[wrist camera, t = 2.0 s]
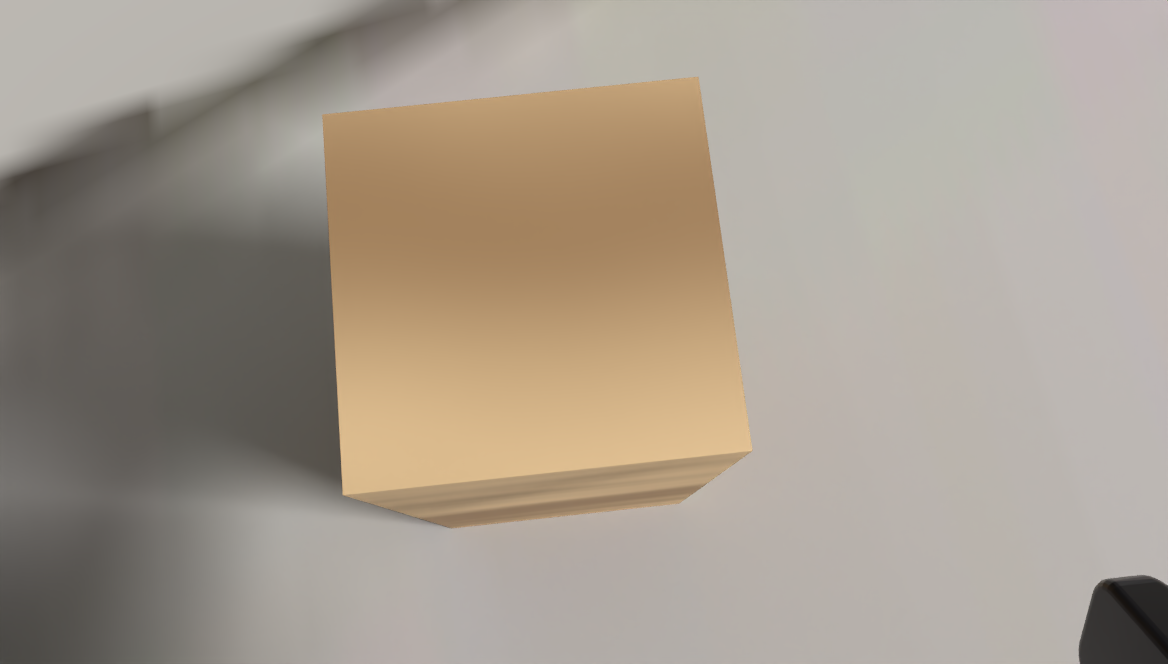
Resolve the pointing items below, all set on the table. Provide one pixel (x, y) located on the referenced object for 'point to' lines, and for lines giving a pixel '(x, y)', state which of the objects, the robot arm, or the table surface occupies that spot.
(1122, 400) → the table surface
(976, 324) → the table surface
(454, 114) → the peg
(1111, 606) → the robot arm
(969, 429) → the table surface
